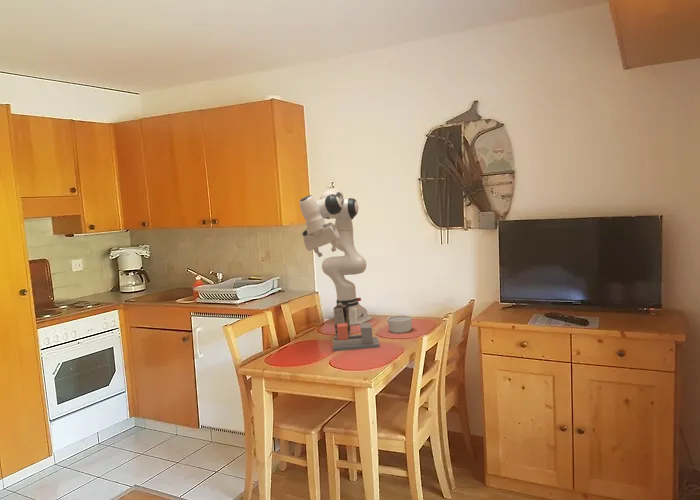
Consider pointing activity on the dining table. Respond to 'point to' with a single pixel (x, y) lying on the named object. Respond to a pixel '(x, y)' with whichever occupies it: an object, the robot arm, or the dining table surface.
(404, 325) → the ramekin
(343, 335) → the red upright block
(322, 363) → the dining table surface
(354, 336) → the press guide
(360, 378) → the dining table surface
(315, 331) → the dining table surface
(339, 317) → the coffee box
